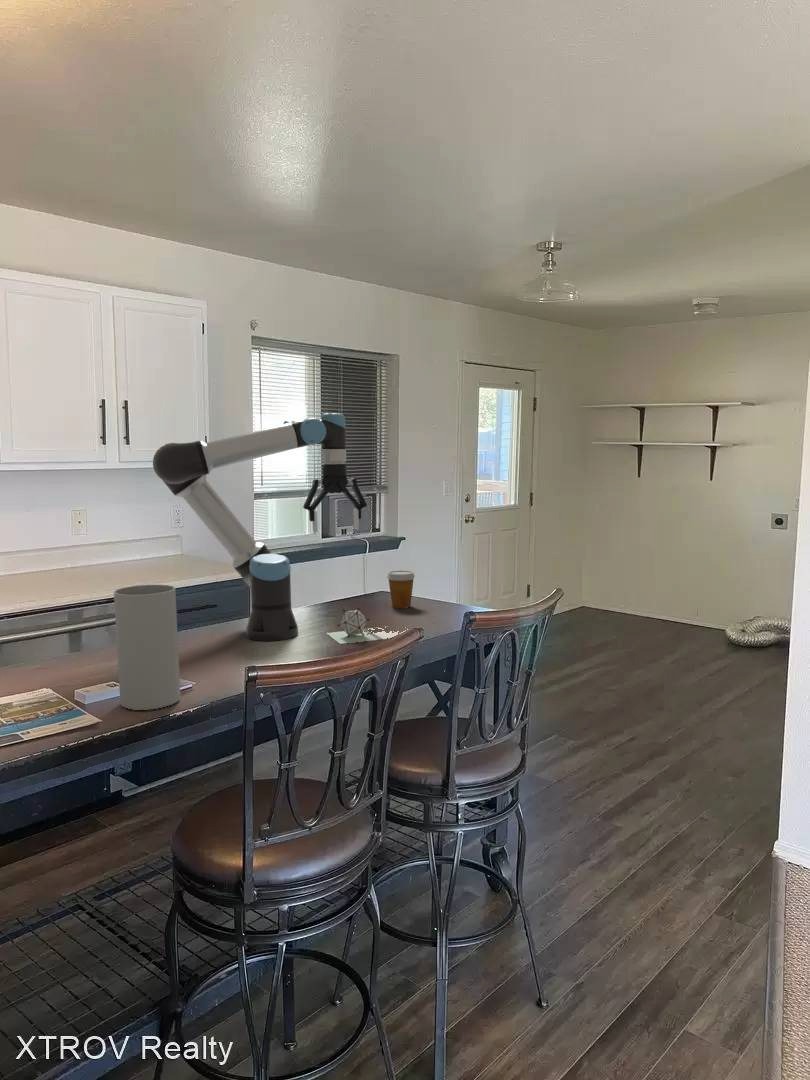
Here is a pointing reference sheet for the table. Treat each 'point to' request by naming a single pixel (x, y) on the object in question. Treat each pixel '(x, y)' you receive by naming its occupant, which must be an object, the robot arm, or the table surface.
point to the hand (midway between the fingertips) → (335, 530)
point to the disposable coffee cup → (401, 588)
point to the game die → (353, 622)
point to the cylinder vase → (147, 646)
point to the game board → (361, 636)
